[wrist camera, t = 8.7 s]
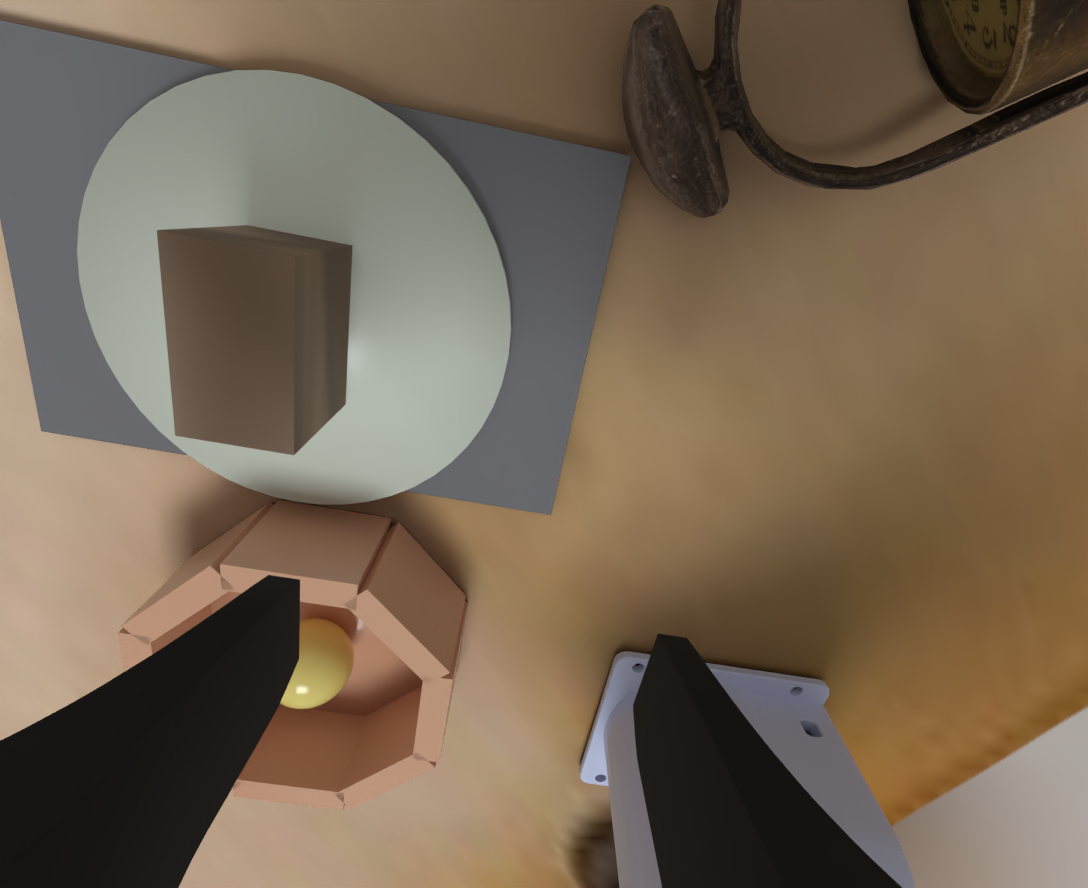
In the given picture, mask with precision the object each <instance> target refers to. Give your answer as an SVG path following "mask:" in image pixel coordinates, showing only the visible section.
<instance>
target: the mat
mask: <svg viewBox="0 0 1088 888" xmlns="http://www.w3.org/2000/svg"><path fill="white" fill-rule="evenodd" d="M230 71H234V70H230V69H225V68H221V67H216V66H211V65H207V64H202V63H197V62H193V61H188V60H183V59H179V58H174V57H169V56H165V55H160V54H155V53H151V52H146V51H142V50H137V49H132V48H128V47H123V46H118V45H114V44H109V43H104V42H100V41H95V40H90V39H86V38H81V37H76V36H72V35H67V34H63V33H58V32H53V31H49V30H44V29H39V28H35V27H30V26H25V25H21V24H16V23H11V22H7V21H2V20H0V220H1V225H2V230H3V235H4V240H5V246H6V251H7V256H8V261H9V266H10V271H11V277H12V282H13V287H14V292H15V297H16V302H17V308H18V313H19V318H20V323H21V328H22V333H23V339H24V344H25V349H26V354H27V359H28V365H29V370H30V375H31V380H32V385H33V390H34V396H35V401H36V406H37V411H38V416H39V421H40V427H41V431H44V432H50V433H56V434H62V435H68V436H74V437H80V438H86V439H92V440H98V441H104V442H110V443H117V444H123V445H129V446H135V447H141V448H147V449H153V450H159V451H165V452H171V453H177V454H183V455H187V454H186V453H185V452H183V451H182V450H180V449H179V448H178V447H177V446H176V445H175V444H173V443H172V442H171V441H170V440H169V439H168V438H167V437H165V436H164V435H163V434H162V433H161V432H160V431H159V430H158V429H157V428H156V427H155V426H154V425H153V424H152V423H151V422H150V421H149V420H148V419H147V418H146V417H145V415H144V414H143V413H142V412H141V411H140V410H139V409H138V407H137V406H136V405H135V404H134V402H133V401H132V400H131V398H130V397H129V396H128V394H127V393H126V392H125V391H124V389H123V388H122V386H121V385H120V383H119V381H118V380H117V378H116V377H115V375H114V373H113V372H112V370H111V368H110V367H109V365H108V363H107V361H106V359H105V357H104V355H103V353H102V351H101V349H100V347H99V345H98V342H97V340H96V338H95V336H94V333H93V330H92V327H91V324H90V321H89V318H88V315H87V312H86V309H85V305H84V300H83V295H82V291H81V286H80V281H79V270H78V257H77V243H78V225H79V218H80V213H81V208H82V204H83V199H84V194H85V191H86V189H87V186H88V183H89V181H90V178H91V175H92V173H93V170H94V167H95V165H96V164H97V162H98V160H99V159H100V157H101V155H102V153H103V152H104V150H105V148H106V146H107V145H108V143H109V142H110V140H111V139H112V138H113V137H114V136H115V134H116V133H117V132H118V131H119V130H120V128H121V127H122V126H123V125H124V124H125V122H126V121H127V120H128V119H129V118H130V117H132V116H133V115H134V114H135V113H136V112H138V111H139V110H140V109H141V108H142V107H144V106H145V105H146V104H147V103H148V102H150V101H151V100H153V99H155V98H156V97H158V96H160V95H162V94H163V93H165V92H167V91H169V90H170V89H172V88H174V87H176V86H178V85H181V84H184V83H186V82H189V81H192V80H195V79H198V78H200V77H203V76H207V75H213V74H218V73H224V72H230ZM368 100H369V99H368ZM370 101H372V102H373V103H375V104H377V105H378V106H380V107H382V108H383V109H385V110H386V111H388V112H390V113H391V114H393V115H395V116H396V117H398V118H399V119H401V120H402V121H403V122H405V123H406V124H407V125H408V126H410V127H411V128H412V129H413V130H415V131H416V132H417V133H418V134H420V135H421V136H422V137H423V138H425V139H426V140H427V141H428V142H429V143H430V144H431V145H432V146H433V147H434V148H435V149H436V150H437V151H438V152H439V153H440V154H441V155H442V156H443V157H444V158H445V159H446V161H447V162H448V163H449V164H450V165H451V166H452V167H453V169H454V170H455V171H456V173H457V174H458V175H459V177H460V178H461V179H462V181H463V182H464V183H465V185H466V186H467V187H468V188H469V190H470V191H471V193H472V195H473V197H474V198H475V200H476V202H477V203H478V205H479V207H480V209H481V210H482V212H483V214H484V215H485V217H486V219H487V222H488V224H489V226H490V229H491V231H492V233H493V236H494V238H495V240H496V242H497V245H498V248H499V251H500V255H501V258H502V261H503V265H504V268H505V272H506V276H507V282H508V288H509V295H510V301H511V327H512V329H511V339H510V350H509V357H508V361H507V365H506V370H505V374H504V378H503V382H502V385H501V388H500V391H499V393H498V396H497V398H496V401H495V404H494V406H493V408H492V410H491V412H490V414H489V415H488V417H487V419H486V421H485V423H484V424H483V426H482V428H481V429H480V431H479V432H478V433H477V435H476V436H475V437H474V439H473V440H472V441H471V442H470V444H469V445H468V446H467V447H466V448H465V449H464V450H463V451H462V452H461V453H460V454H459V455H458V456H457V457H456V458H455V459H454V460H453V461H452V462H451V463H450V464H449V465H447V466H446V467H445V468H443V469H442V470H441V471H439V472H438V473H437V474H435V475H434V476H433V477H431V478H429V479H427V480H425V481H424V482H422V483H420V484H418V485H417V486H415V487H413V488H410V489H408V490H405V491H408V492H414V493H420V494H426V495H432V496H438V497H444V498H450V499H457V500H463V501H469V502H475V503H481V504H487V505H493V506H499V507H505V508H511V509H517V510H523V511H529V512H535V513H542V514H548V515H551V513H552V508H553V504H554V499H555V495H556V490H557V486H558V481H559V477H560V472H561V468H562V463H563V459H564V454H565V450H566V446H567V441H568V437H569V432H570V428H571V423H572V419H573V414H574V410H575V405H576V401H577V396H578V392H579V387H580V383H581V379H582V374H583V370H584V365H585V361H586V356H587V352H588V347H589V343H590V338H591V334H592V329H593V325H594V320H595V316H596V312H597V307H598V303H599V298H600V294H601V289H602V285H603V280H604V276H605V271H606V267H607V262H608V258H609V253H610V249H611V245H612V240H613V236H614V231H615V227H616V222H617V218H618V213H619V209H620V204H621V200H622V195H623V191H624V186H625V182H626V177H627V173H628V169H629V164H630V160H631V156H629V155H625V154H620V153H615V152H611V151H606V150H602V149H597V148H592V147H588V146H583V145H578V144H574V143H569V142H564V141H560V140H555V139H550V138H546V137H541V136H536V135H532V134H527V133H523V132H518V131H513V130H509V129H504V128H499V127H495V126H490V125H485V124H481V123H476V122H471V121H467V120H462V119H457V118H453V117H448V116H444V115H439V114H434V113H430V112H425V111H420V110H416V109H411V108H406V107H402V106H397V105H392V104H388V103H383V102H379V101H374V100H370Z"/></svg>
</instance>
